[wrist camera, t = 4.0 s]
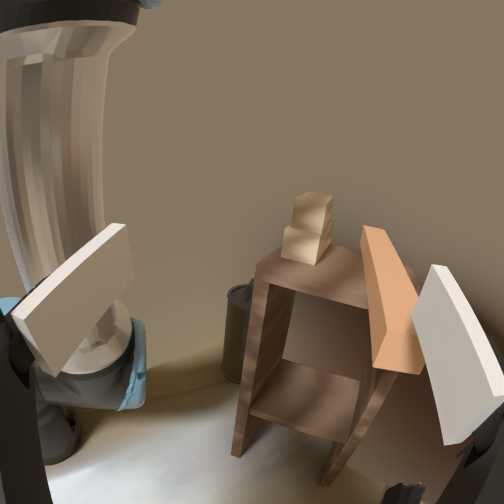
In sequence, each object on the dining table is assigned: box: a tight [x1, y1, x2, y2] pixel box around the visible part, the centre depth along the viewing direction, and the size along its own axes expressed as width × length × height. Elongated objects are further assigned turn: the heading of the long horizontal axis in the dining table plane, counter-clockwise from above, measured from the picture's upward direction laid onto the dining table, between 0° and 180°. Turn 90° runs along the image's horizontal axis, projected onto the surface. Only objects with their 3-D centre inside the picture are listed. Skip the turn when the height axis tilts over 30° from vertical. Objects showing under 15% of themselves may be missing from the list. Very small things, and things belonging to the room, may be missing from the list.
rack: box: [231, 192, 421, 487], centre depth 35 cm, size 16×14×38 cm
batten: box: [360, 226, 425, 374], centre depth 27 cm, size 28×3×2 cm, turn 162°
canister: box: [221, 278, 255, 384], centre depth 56 cm, size 11×10×20 cm
